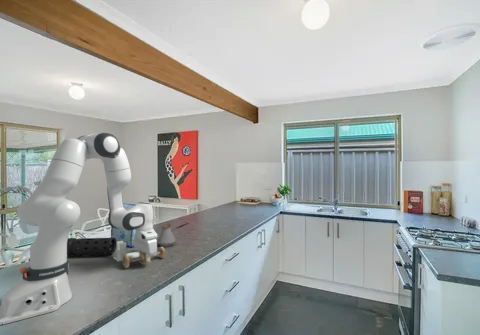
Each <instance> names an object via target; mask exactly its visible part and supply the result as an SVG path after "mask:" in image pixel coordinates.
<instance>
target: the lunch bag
mask: <svg viewBox="0 0 480 335" xmlns="http://www.w3.org/2000/svg"><path fill="white" fill-rule="evenodd" d="M135 205H136V204H134V203H132V204H131V203H123V207H124V209H125V210H129V209H131V208H133V207H134V206H135ZM134 236H135V230H131V231H128V230H123V229H117V228H113V227H111V226H110V238H115V239H116V242H119V241H123V243H126V247H130V248H135V247H134Z"/></svg>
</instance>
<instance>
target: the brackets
mask: <svg viewBox="0 0 480 335" xmlns="http://www.w3.org/2000/svg"><path fill="white" fill-rule="evenodd" d="M126 255H127V256H128V257H129V259H132V258H136V257H139V250H138V251H132V252H129V253H127V246H126V243H123V241H119V242H117V245H116V256H113V260H115V261H116V262H123V256H126Z"/></svg>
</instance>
